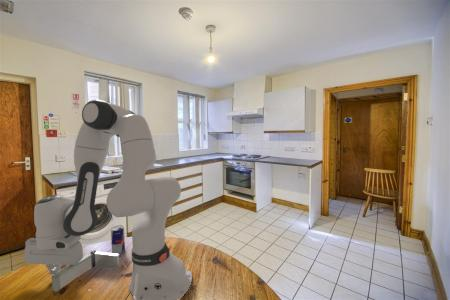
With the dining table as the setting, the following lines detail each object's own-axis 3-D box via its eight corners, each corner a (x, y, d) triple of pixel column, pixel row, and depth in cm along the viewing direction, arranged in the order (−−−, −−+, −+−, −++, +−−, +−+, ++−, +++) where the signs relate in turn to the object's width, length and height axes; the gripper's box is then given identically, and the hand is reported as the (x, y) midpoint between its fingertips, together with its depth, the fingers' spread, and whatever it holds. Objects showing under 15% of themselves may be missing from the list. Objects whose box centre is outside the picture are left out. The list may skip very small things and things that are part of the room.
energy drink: (119, 256, 91) (118, 231, 90) (109, 255, 92) (107, 230, 91) (127, 249, 96) (126, 225, 95) (117, 248, 98) (116, 224, 96)
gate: (88, 266, 84) (88, 253, 83) (92, 267, 83) (91, 254, 83) (52, 290, 71) (51, 276, 71) (56, 291, 71) (55, 277, 70)
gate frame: (120, 267, 84) (119, 252, 84) (116, 270, 83) (116, 255, 82) (59, 260, 89) (58, 246, 88) (55, 263, 87) (54, 249, 86)
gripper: (16, 242, 73) (20, 278, 75) (72, 244, 73) (74, 280, 74) (33, 233, 79) (36, 266, 81) (84, 235, 79) (86, 268, 80)
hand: (55, 273), depth 77 cm, fingers closed
